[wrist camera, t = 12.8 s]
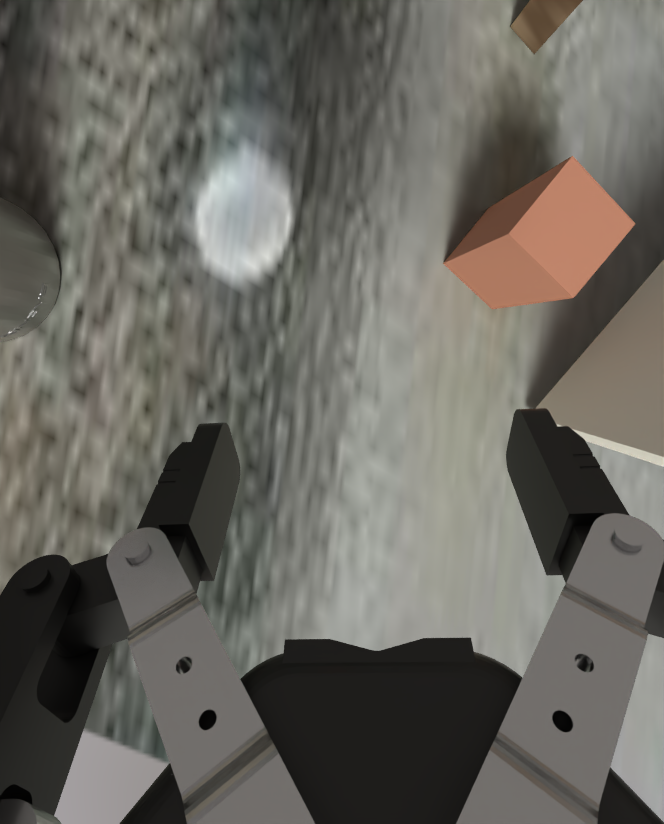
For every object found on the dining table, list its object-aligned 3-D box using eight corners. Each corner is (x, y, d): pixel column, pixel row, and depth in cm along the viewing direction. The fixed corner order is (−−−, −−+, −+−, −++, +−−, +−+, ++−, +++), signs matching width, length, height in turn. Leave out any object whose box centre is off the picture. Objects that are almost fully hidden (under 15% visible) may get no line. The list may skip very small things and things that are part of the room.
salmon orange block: (443, 263, 33) (508, 233, 24) (488, 207, 33) (572, 156, 23) (492, 309, 34) (573, 297, 25) (536, 255, 34) (635, 223, 24)
